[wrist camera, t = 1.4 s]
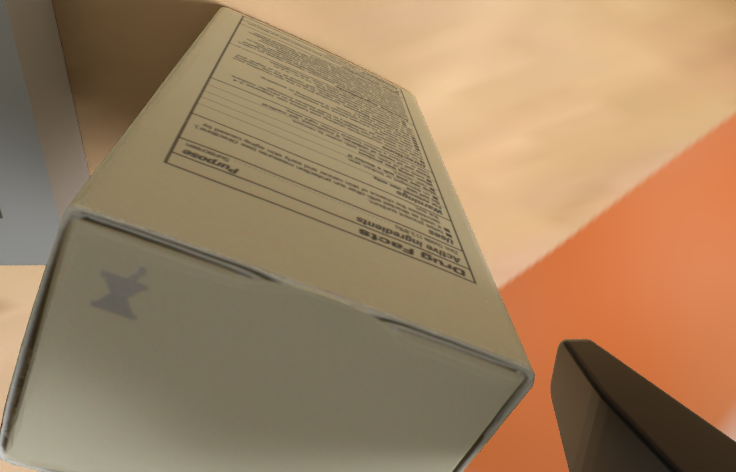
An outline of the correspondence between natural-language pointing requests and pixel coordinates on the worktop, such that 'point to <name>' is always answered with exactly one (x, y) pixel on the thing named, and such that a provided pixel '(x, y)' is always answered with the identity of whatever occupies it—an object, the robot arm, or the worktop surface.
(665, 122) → the worktop surface
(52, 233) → the holder
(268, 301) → the skincare box
